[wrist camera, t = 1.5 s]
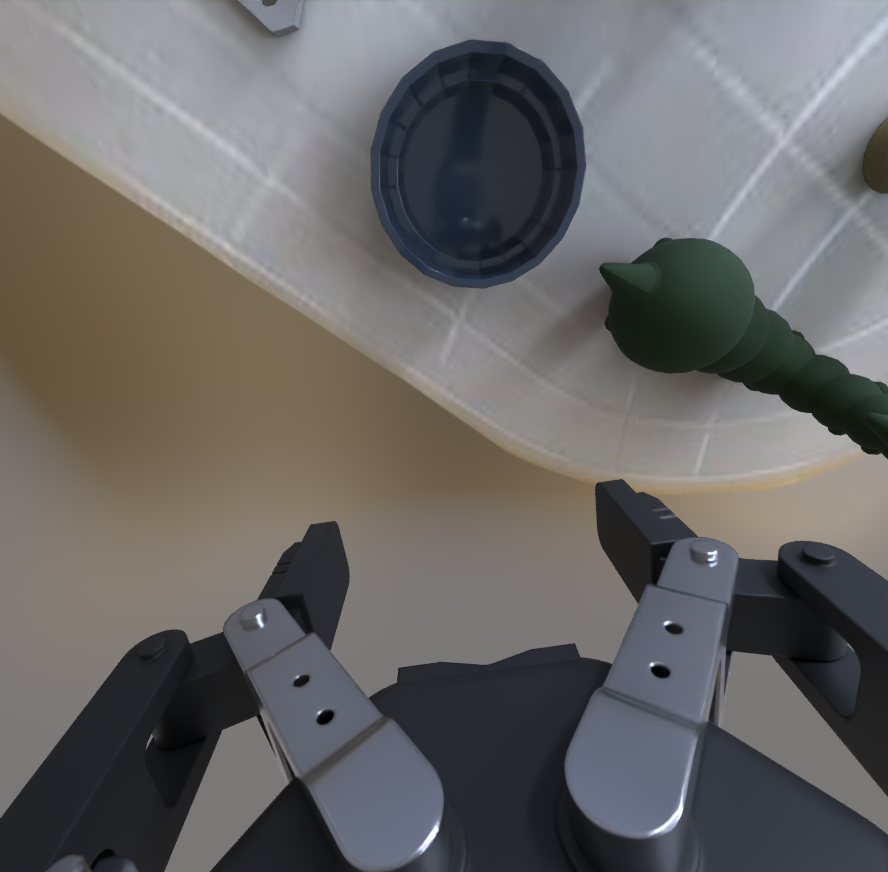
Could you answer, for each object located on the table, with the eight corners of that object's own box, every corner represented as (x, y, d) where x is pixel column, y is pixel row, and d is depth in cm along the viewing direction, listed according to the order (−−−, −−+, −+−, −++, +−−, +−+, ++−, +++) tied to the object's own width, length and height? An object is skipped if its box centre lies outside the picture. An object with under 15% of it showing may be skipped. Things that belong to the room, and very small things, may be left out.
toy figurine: (815, 319, 42) (597, 184, 35) (1069, 422, 26) (761, 212, 19) (741, 403, 46) (533, 297, 39) (919, 536, 30) (622, 399, 23)
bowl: (381, 52, 32) (369, 30, 27) (584, 68, 32) (608, 49, 27) (381, 268, 39) (372, 281, 34) (548, 279, 39) (562, 294, 34)
